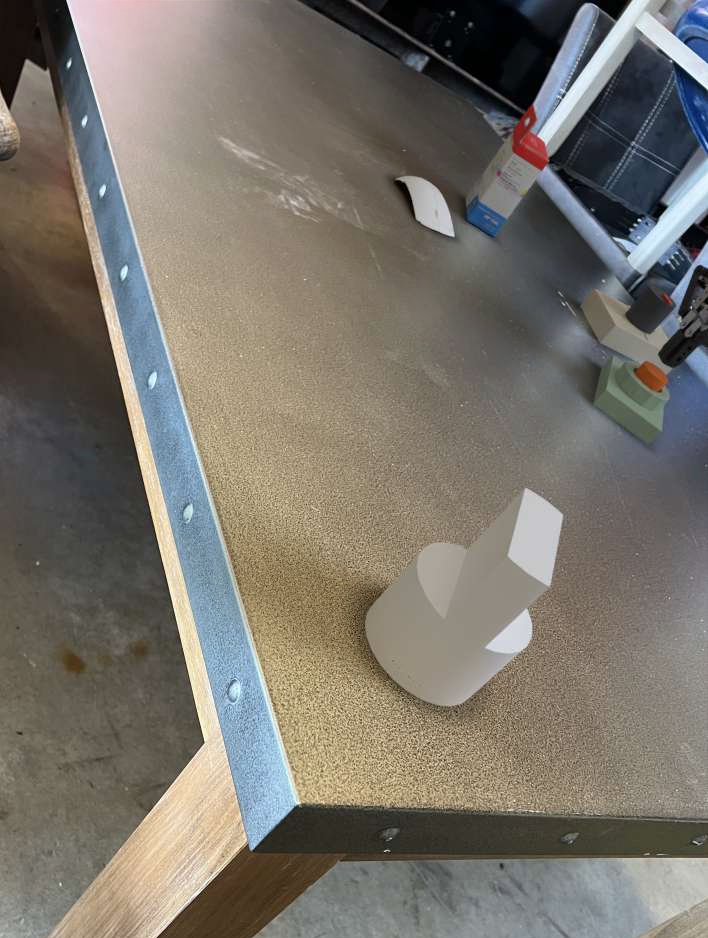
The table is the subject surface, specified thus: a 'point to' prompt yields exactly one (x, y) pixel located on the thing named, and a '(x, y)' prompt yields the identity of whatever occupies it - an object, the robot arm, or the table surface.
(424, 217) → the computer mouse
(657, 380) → the button
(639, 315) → the program dial
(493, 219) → the ink box
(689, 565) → the table surface
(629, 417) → the block
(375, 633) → the cylinder with rectangular tab
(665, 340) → the dial panel
